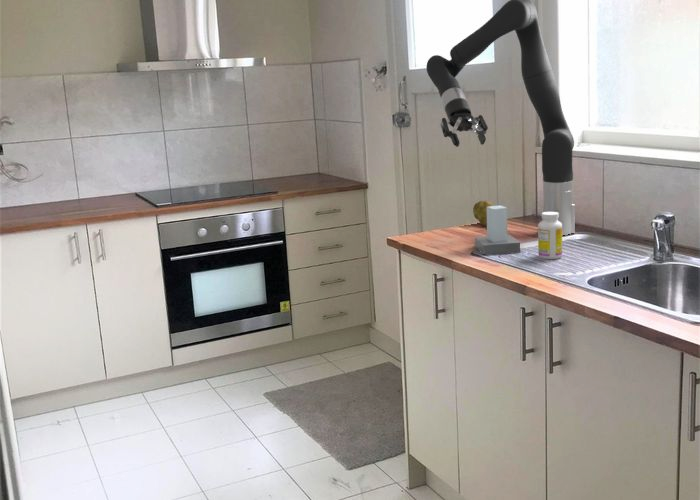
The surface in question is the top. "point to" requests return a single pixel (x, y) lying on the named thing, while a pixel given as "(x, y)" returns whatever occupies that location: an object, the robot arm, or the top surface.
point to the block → (497, 223)
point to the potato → (481, 211)
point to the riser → (497, 245)
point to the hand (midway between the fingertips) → (470, 143)
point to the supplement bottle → (550, 236)
